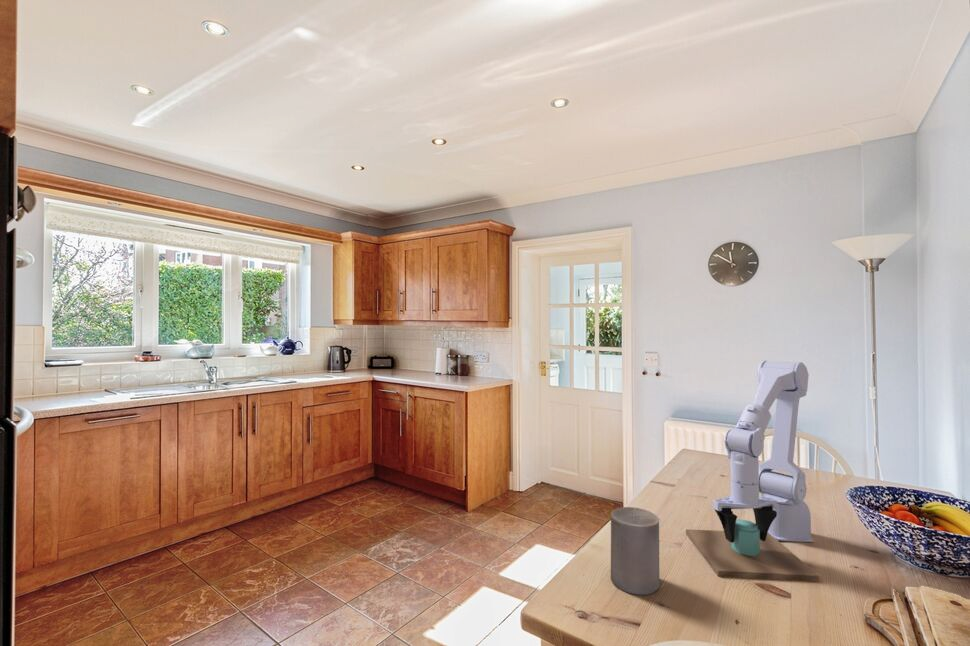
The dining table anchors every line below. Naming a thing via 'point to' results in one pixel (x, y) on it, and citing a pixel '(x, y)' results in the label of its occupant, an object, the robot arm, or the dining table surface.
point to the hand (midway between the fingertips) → (745, 539)
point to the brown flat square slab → (750, 558)
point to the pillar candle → (635, 550)
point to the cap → (746, 538)
